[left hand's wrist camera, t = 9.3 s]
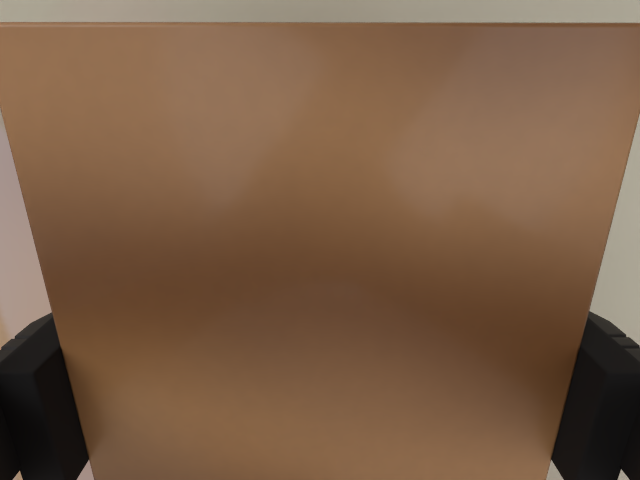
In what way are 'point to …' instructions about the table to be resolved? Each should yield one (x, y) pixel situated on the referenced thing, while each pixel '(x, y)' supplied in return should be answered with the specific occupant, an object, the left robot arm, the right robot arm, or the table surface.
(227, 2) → the table surface
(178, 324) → the wide beam
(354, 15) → the table surface
